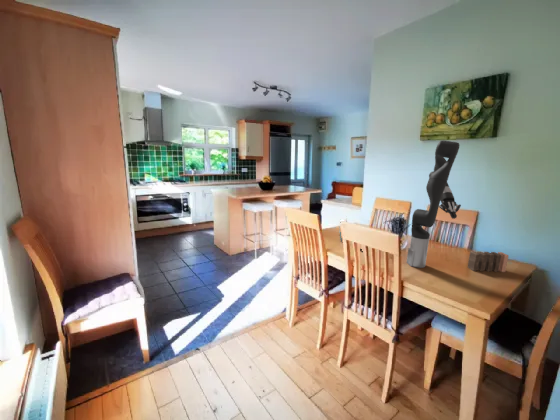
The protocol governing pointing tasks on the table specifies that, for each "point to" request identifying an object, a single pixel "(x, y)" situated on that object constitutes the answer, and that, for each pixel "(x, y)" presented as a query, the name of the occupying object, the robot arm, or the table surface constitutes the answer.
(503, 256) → the domino
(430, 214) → the robot arm
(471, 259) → the domino
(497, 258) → the domino
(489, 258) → the domino
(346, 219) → the ink box
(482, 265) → the domino
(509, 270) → the table surface
